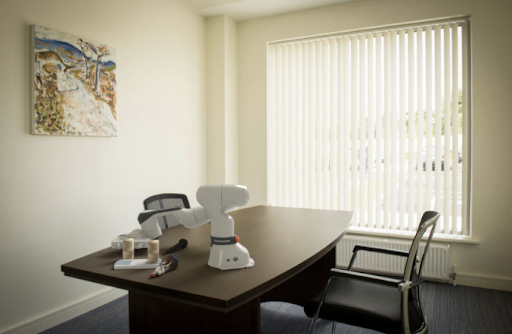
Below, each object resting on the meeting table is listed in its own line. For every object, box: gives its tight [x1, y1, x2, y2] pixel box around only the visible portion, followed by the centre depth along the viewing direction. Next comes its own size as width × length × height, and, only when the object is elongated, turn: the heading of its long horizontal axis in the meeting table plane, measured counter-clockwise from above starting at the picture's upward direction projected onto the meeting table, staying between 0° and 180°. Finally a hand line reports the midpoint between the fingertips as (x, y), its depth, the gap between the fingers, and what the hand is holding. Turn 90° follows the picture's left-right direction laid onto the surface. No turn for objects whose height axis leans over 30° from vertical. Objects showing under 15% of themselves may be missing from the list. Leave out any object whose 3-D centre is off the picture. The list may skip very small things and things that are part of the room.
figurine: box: [149, 254, 180, 278], centre depth 169 cm, size 8×7×18 cm
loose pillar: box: [122, 238, 135, 260], centre depth 188 cm, size 4×4×10 cm
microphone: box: [161, 238, 189, 256], centre depth 204 cm, size 6×6×20 cm
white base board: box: [113, 258, 163, 270], centre depth 178 cm, size 21×10×2 cm, turn 97°
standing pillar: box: [147, 239, 160, 263], centre depth 179 cm, size 4×4×10 cm
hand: (128, 247), depth 191 cm, fingers open, 8 cm apart
